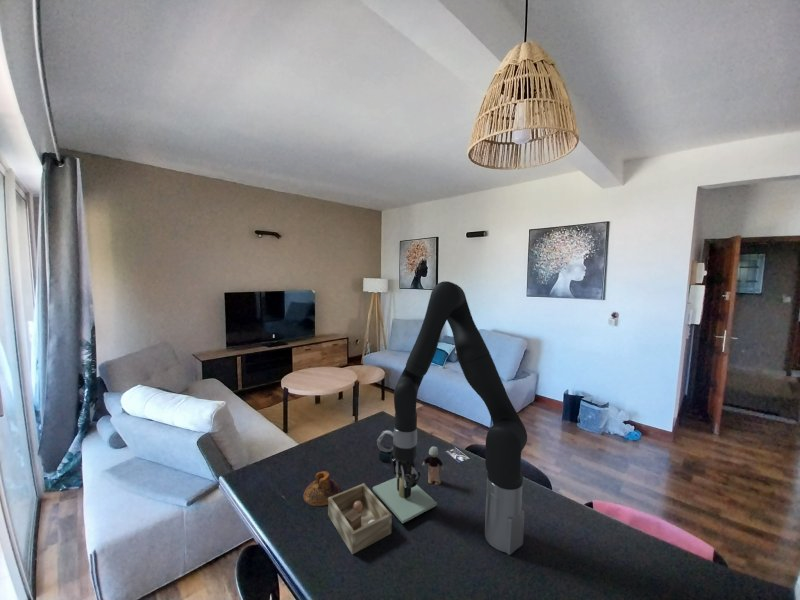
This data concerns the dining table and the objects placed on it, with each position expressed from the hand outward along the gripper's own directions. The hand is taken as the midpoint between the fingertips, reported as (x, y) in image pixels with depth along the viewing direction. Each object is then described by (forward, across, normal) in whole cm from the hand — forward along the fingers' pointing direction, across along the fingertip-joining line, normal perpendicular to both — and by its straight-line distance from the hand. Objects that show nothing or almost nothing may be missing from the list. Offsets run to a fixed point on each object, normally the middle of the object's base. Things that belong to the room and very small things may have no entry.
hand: (403, 493), depth 99 cm
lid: (+1, 0, 0) cm, 1 cm away
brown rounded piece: (+4, +18, +20) cm, 27 cm away
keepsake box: (+3, 0, +16) cm, 16 cm away
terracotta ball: (+3, +4, +14) cm, 15 cm away
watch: (+4, +24, -9) cm, 26 cm away
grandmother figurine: (+4, +3, -15) cm, 16 cm away
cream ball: (+3, -5, +14) cm, 15 cm away
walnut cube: (+3, 0, +18) cm, 18 cm away
